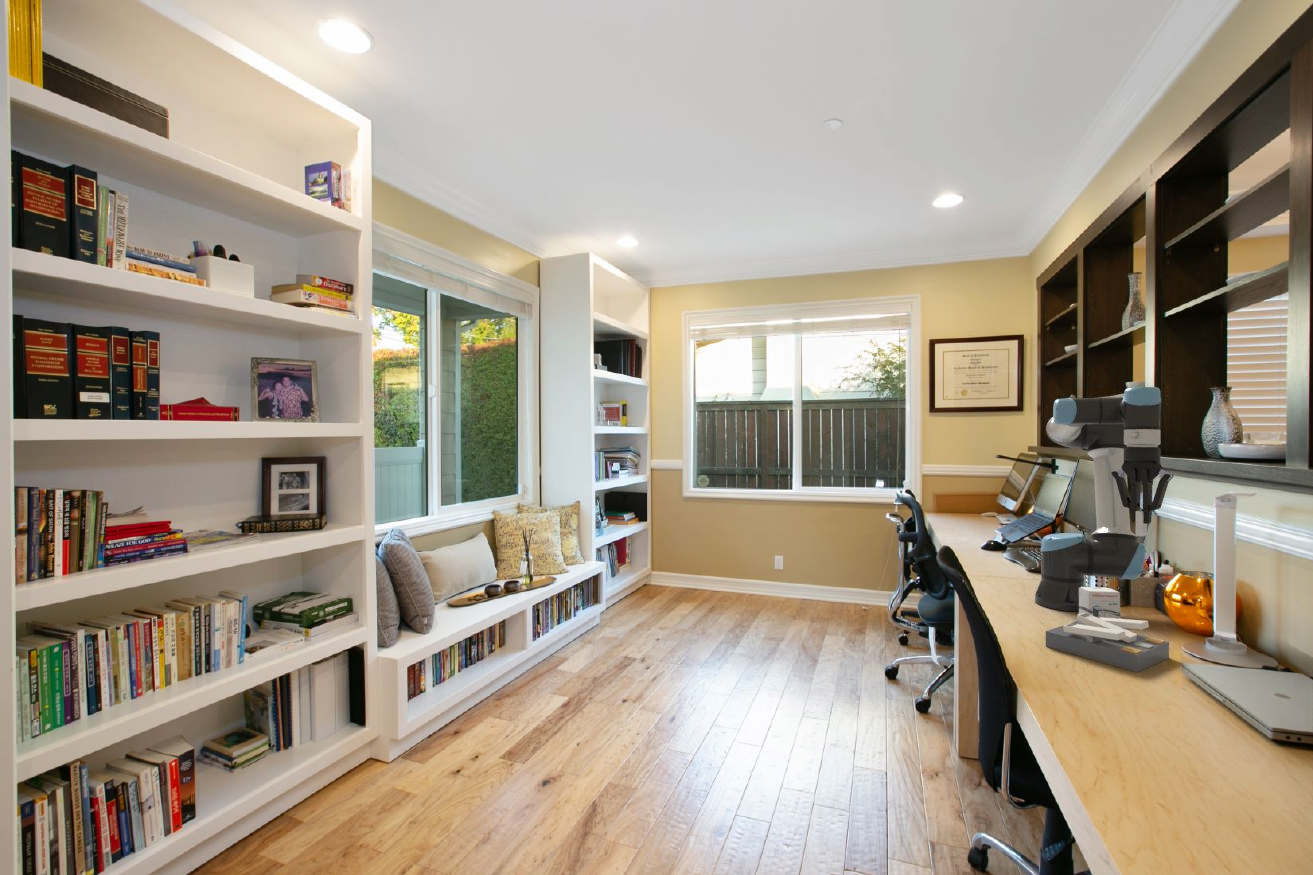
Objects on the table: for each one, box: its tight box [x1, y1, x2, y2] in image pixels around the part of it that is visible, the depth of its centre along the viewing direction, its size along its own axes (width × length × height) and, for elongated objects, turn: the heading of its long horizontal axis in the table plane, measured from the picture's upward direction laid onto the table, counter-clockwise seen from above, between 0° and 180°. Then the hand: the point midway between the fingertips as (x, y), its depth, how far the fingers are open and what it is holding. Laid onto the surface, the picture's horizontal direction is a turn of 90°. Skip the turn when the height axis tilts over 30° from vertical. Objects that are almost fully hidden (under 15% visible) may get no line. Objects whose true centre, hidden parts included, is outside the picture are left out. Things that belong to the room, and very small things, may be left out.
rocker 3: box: [1097, 617, 1150, 630], centre depth 156 cm, size 4×12×2 cm, turn 31°
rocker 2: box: [1075, 612, 1138, 643], centre depth 153 cm, size 4×12×2 cm, turn 31°
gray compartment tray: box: [1045, 620, 1170, 673], centre depth 153 cm, size 18×20×5 cm
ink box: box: [1078, 586, 1121, 619], centre depth 170 cm, size 9×5×12 cm, turn 84°
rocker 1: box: [1062, 622, 1126, 640], centre depth 150 cm, size 4×12×2 cm, turn 31°
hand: (1141, 535), depth 156 cm, fingers closed
